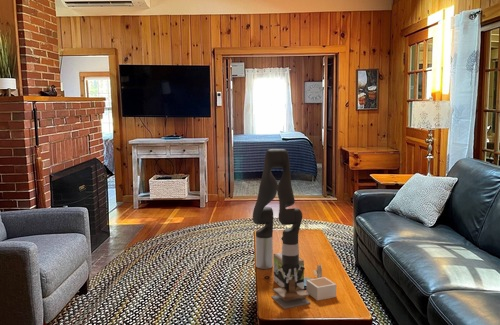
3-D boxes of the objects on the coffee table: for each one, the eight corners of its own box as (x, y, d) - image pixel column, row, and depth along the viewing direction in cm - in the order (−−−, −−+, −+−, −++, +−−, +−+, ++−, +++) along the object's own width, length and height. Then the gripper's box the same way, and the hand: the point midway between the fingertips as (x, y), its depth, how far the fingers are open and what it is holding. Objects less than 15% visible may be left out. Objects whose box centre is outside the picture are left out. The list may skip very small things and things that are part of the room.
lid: (273, 290, 203) (272, 276, 202) (296, 286, 207) (296, 272, 206) (284, 301, 191) (284, 285, 191) (308, 296, 196) (309, 281, 195)
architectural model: (314, 282, 222) (314, 267, 221) (313, 276, 229) (313, 263, 228) (321, 282, 222) (321, 267, 221) (320, 276, 229) (320, 263, 228)
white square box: (306, 292, 208) (306, 280, 208) (324, 288, 212) (324, 276, 211) (317, 300, 199) (317, 287, 198) (336, 296, 203) (336, 284, 202)
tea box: (273, 281, 222) (272, 253, 221) (291, 278, 226) (290, 250, 224) (285, 292, 208) (285, 262, 207) (304, 289, 212) (304, 259, 210)
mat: (271, 297, 203) (271, 296, 203) (296, 292, 208) (296, 291, 208) (284, 308, 191) (284, 307, 191) (310, 303, 196) (310, 302, 196)
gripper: (300, 248, 203) (300, 284, 205) (272, 252, 198) (272, 289, 200) (308, 252, 196) (308, 290, 198) (280, 257, 191) (280, 295, 193)
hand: (290, 289), depth 199 cm, fingers closed on lid, 3 cm apart
